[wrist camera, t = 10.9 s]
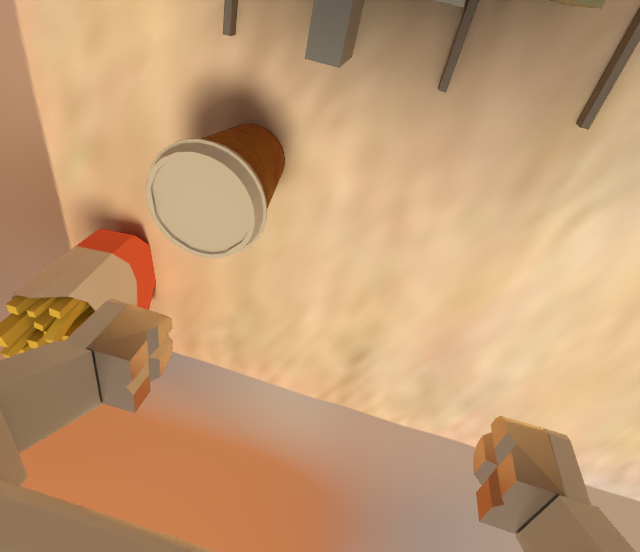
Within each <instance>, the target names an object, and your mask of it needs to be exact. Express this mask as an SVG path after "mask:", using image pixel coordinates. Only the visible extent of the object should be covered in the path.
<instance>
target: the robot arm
mask: <svg viewBox="0 0 640 552" xmlns="http://www.w3.org/2000/svg"><path fill="white" fill-rule="evenodd" d="M171 329H172V318H170V317H168V316H165V315H162V314H159V313H156V312H153V311H150V310H147V309H144V308H141V307H138V306H135V305H132V304H128V303H125V302H122V301H119V300H116V299H110V300H108V301H106V302H105V303H104V304H102V305H101V306H100V307H99V308H98V309H97V310H96V311H95V312H94V313H93V314H92V315H91V316H90V317H89V318H88V319H87V320H86V321H85V322H84V323H83V324H82V325H81V326H80V327H79V328H77V329H76V330H75V331H74V332H73V333H72V334H71V335H70V336H69V337H68V338H67V339H66V340H65V341H64V342H62V341H58V340H57V341H54V342H51V343H48V344H46V345H43V346H40V347H37V348H34V349H31V350H29V351H26V352H23V353H20V354H17V355H15V356H12V357H9V358H6V359H3V360H0V552H219V551H215V550H213V549H210V548H207V547H204V546H201V545H198V544H195V543H191V542H189V541H186V540H183V539H180V538H177V537H173V536H170V535H167V534H164V533H161V532H158V531H155V530H152V529H149V528H146V527H143V526H140V525H137V524H134V523H131V522H128V521H125V520H122V519H119V518H116V517H113V516H110V515H107V514H104V513H101V512H98V511H95V510H92V509H89V508H86V507H83V506H80V505H77V504H74V503H71V502H68V501H65V500H62V499H59V498H56V497H53V496H50V495H46V494H44V493H41V492H38V491H35V490H32V489H28V488H26V487H22V486H21V484H22V483H23V482H24V481H25V479H26V478H27V470H26V467H25V465H24V463H23V460H22V458H21V455H20V452H22V451H24V450H25V449H27V448H29V447H30V446H32V445H34V444H35V443H37V442H39V441H41V440H42V439H44V438H46V437H47V436H49V435H51V434H53V433H54V432H56V431H58V430H59V429H61V428H63V427H65V426H66V425H68V424H70V423H71V422H73V421H75V420H76V419H78V418H80V417H82V416H83V415H85V414H87V413H88V412H90V411H92V410H93V409H95V408H97V407H98V406H100V405H101V403H103V404H106V405H110V406H113V407H117V408H121V409H124V410H127V411H131V412H134V413H135V412H136V411H137V409H138V408H139V406H140V405H141V404H142V402H143V401H144V399H145V398H146V396H147V395H148V394H149V392H150V381H152V380H155V379H156V378H159V377H160V376H161V375H162V373H163V372H164V370H165V369H166V367H167V365H168V362H169V360H170V358H171V353H172V349H173V341H172V340H171V338H170V337H169V335H168V334H169V332H170V331H171ZM491 429H492V432H491V433H489V434H486V435H483V436H482V437H481V439H480V440H479V442H478V444H477V446H476V450H475V454H474V474H475V476H476V477H477V479H478V480H479V482H480V483H481V485H482V486H481V487H480V488H479V490H478V491H477V492H476V496H477V504H478V514H479V521H480V522H483V523H486V524H488V525H491V526H494V527H497V528H500V529H503V530H506V531H509V532H512V533H514V534H517V535H516V538H517V540H518V541H519V543H520V545H521V547H522V549H523V550H524V552H636V551H635V550H634V549H633V548H632V547H631V546H630V544H629V543H628V542H627V541H626V540H625V538H624V537H623V536H622V535H621V534H620V532H619V531H618V530H617V529H616V528H615V527H614V525H613V524H612V523H611V522H610V521H609V520H608V518H607V517H606V516H605V515H604V514H603V512H602V511H601V510H600V509H599V508H598V507H596V506H593V505H591V502H590V499H589V496H588V493H587V490H586V487H585V484H584V481H583V478H582V475H581V472H580V469H579V466H578V463H577V459H576V456H575V453H574V450H573V447H572V444H571V441H570V439H569V438H568V437H567V436H566V435H564V434H561V433H557V432H554V431H551V430H547V429H542V428H541V427H537V426H534V425H531V424H527V423H524V422H520V421H517V420H513V419H510V418H506V417H503V416H499V417H497V418H496V419H495V420H494V421H493V423H492V424H491Z"/></svg>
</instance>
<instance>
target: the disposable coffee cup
mask: <svg viewBox="0 0 640 552" xmlns="http://www.w3.org/2000/svg"><path fill="white" fill-rule="evenodd" d="M284 165H285V157H284V152H283V149H282V146H281V145H280V143H279V141H278V140H277V138H276V137H275V136H274V135H273V134H272V133H271V132H270V131H268V130H267V129H265V128H264V127H261V126H258V125H254V124H243V125H240V126H237V127H234V128H231V129H228V130H225V131H222V132H219V133H216V134H214V135H211V136H208V137H205V138H202V139H193V138H192V139H185V140H180V141H177V142H174V143H172V144H171V145H169V146H167V147H165V148H164V149H163V150H162V151H161V152H160V153H159V154H158V155H157V156H156V158H155V160H154V162H153V164H152V166H151V169H150V173H149V175H148V179H147V183H146V201H147V204H148V208H149V211H150V213H151V215H152V218H153V220H154V221H155V223H156V224H157V226H158V227H159V229H160V230H161V231H162V232H163V234H164V235H165V236H166V237H167V238H168V239H170V240H171V241H172V242H173V243H174V244H175V245H177V246H178V247H180V248H182V249H183V250H185V251H187V252H189V253H192V254H194V255H197V256H201V257H205V258H223V257H227V256H231V255H233V254H237V253H240V252H242V251H244V250H246V249H248V248H249V247H251V246H252V245H253V244H254V243H255V242H256V241H257V239H258V238H259V237H260V235H261V233H262V231H263V229H264V226H265V223H266V218H267V208H268V205H269V203H270V201H271V198H272V196H273V193H274V191H275V189H276V186H277V184H278V182H279V179H280V177H281V175H282V173H283V169H284Z"/></svg>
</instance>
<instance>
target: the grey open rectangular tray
mask: <svg viewBox="0 0 640 552" xmlns="http://www.w3.org/2000/svg"><path fill="white" fill-rule="evenodd" d="M434 1H438V2H442V3H446V4H450V5H454V6H458V7H462V8H463V6H464V3H465V0H434ZM363 3H364V0H314V5H313V11H312V18H311V24H310V30H309V36H308V43H307V49H306V55H305V59H308V60H312V61H316V62H320V63H323V64H327V65H331V66H335V67H340V66H342V65H343V64H344V63H345V62H346V61H347V60H348V59H350V58H351V57H352V53H353V48H354V44H355V39H356V35H357V30H358V26H359V21H360V16H361V12H362V7H363Z"/></svg>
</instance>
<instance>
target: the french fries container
mask: <svg viewBox="0 0 640 552" xmlns="http://www.w3.org/2000/svg"><path fill="white" fill-rule="evenodd" d="M155 284H156V280H155V274H154V268H153V262H152V256H151V250H150V245H148V244H147V243H145V242H144V241H142V240H141V239H139V238H138V237H136V236H135V235H130V234H125V233H120V232H115V231H110V230H105V229H99V230H97V231H96V232H95V233H93V234H92V235H91V236H89V237H88V238H86V239H85V240H84V241H82V242H81V243H80V244H78V245H77V246H75V247H74V248H73V249H71V250H70V251H69V252H67V253H66V254H64V255H63V256H62V257H60V258H59V259H57V260H56V261H55V262H53V263H52V264H51V265H49V266H48V267H46V268H45V269H44V270H42V271H41V272H40V273H38V274H37V275H35V276H34V277H33V278H31V279H30V280H29V281H27V282H26V283H24V284H23V285H22V286H20V287H19V288H18V289H16V290H15V291H13V292H12V293H11V296H12V298H13V299H12V300H11V301H10V302H8V303H7V304H6V306H7V308H8V311H9V312H10V313H12V314H11V315H9V316H8V317H7V318H6V319H4V320H3V321H2V322H1V323H0V346H3V347H5V348H4V349H3V350H2V351H1V352H0V353H1V354H2V355H3V356H4V357H5V358H9V357H12V356H15V355H16V354H17V353H18V352H19V353H23V352H26V351H29V350H31V349H34V348H37V347H40V346H43V345H46V344H48V343H51V342H54V341H57V340H58V341H62V342H64V341H65V340H66V339H67V338H68V337H69V336H70V335H71V334H72V333H73V332H74V331H75V330H76V329H77V328H79V327H80V326H81V325H82V324H83V323H84V322H85V321H86V320H87V319H88V318H89V317H90V316H91V315H92V314H93V313H94V312H95V311H96V310H97V309H98V308H99V307H100V306H101V305H102V304H104V303H105V302H106V301H108V300H110V299H116V300H119V301H122V302H125V303H128V304H132V305H135V306H138V307H141V308H144V309H147V310H149V307H150V303H151V299H152V295H153V291H154V287H155Z"/></svg>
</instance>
